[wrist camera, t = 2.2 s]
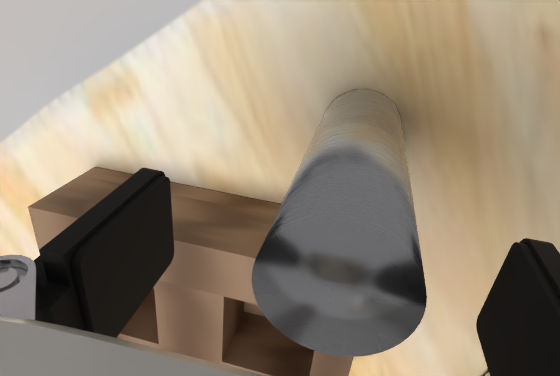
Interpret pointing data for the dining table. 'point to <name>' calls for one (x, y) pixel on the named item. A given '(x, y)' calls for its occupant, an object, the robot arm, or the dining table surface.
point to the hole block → (199, 279)
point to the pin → (346, 237)
